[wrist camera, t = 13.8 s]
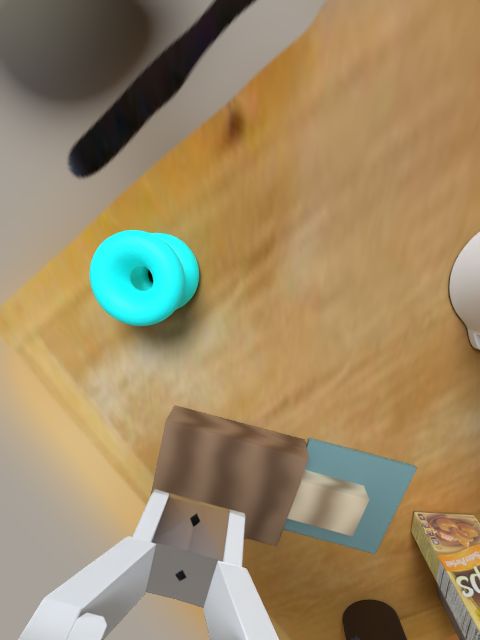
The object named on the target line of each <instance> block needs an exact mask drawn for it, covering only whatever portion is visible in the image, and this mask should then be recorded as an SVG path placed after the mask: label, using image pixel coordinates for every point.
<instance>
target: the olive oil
mask: <svg viewBox="0 0 480 640" xmlns="http://www.w3.org/2000/svg"><path fill="white" fill-rule="evenodd" d="M343 625H344V631H345V636H346V640H407V638H406V636H405V633H404V631H403V628H402V625H401V623H400V620H399V618H398V615H397V613H396V612H395V610H394V609H393V608H392V607H390V606H389V605H387V604H385V603H383V602H380V601H375V600H364V601H359V602H356V603H354V604H352V605H351V606H349V607H348V608H347V609H346V611H345V613H344V615H343Z"/></svg>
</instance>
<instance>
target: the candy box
mask: <svg viewBox="0 0 480 640" xmlns="http://www.w3.org/2000/svg"><path fill="white" fill-rule="evenodd" d="M411 532H412V534H413V536H414V538H415V540H416V542H417V544H418V546H419V548H420V550H421V552H422V554H423V556H424V558H425V560H426V562H427V564H428V566H429V568H430V570H431V572H432V574H433V576H434V578H435V580H436V582H437V584H438V586H439V588H440V590H441V592H442V594H443V596H444V598H445V600H446V602H447V604H448V606H449V608H450V610H451V612H452V614H453V616H454V618H455V620H456V622H457V624H458V626H459V627H460V630H461V632H462V634H463V636H464V638H465V640H480V523H479V521H478V520H477V518H476V517H475V516H474V515H463V514H445V513H425V512H416V511H414V515H413V522H412V528H411Z"/></svg>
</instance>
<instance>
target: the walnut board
mask: <svg viewBox="0 0 480 640" xmlns="http://www.w3.org/2000/svg"><path fill="white" fill-rule="evenodd" d="M308 460H309V457H308V452H307V448H306V443H305V440H304V439H300V438H296V437H292V436H289V435H285V434H281V433H277V432H273V431H270V430H266V429H262V428H258V427H255V426H251V425H247V424H243V423H239V422H236V421H232V420H228V419H224V418H221V417H217V416H213V415H209V414H205V413H202V412H198V411H194V410H190V409H186V408H183V407H179V406H174V407H173V409H172V411H171V413H170V415H169V416H168V418H167V420H166V423H165V428H164V433H163V438H162V443H161V448H160V453H159V458H158V463H157V468H156V472H155V477H154V482H153V487H152V492H151V495H152V493H153V491H154V490H155V489H157V490H160V491H164V492H167V493H171V494H175V495H178V496H181V497H185V498H188V499H191V500H195V501H198V502H203V503H207V504H211V505H215V506H219V507H223V508H227V509H229V510H234V511H238V512H242V513H245V532H244V537H245V538H248V539H252V540H256V541H259V542H263V543H267V544H271V545H274V546H277V544H278V542H279V539H280V536H281V533H282V531H283V528H284V525H285V522H286V520H287V517H288V514H289V512H290V509H291V506H292V503H293V501H294V498H295V495H296V492H297V490H298V487H299V484H300V481H301V479H302V476H303V473H304V471H305V468H306V465H307V462H308Z"/></svg>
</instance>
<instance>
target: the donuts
mask: <svg viewBox="0 0 480 640" xmlns="http://www.w3.org/2000/svg"><path fill="white" fill-rule="evenodd" d="M148 269H149V270H150V272H151V274H152V276H153V283H152V282H151V281H150V279H149V276H148ZM90 283H91V287H92V290H93V293H94V295H95V297H96V299H97V301H98V303H99V304H100V305H101V307H102V308H103V309H104V310H105V311H106V312H107V313H108V314H109V315H111V316H112V317H113V318H115V319H117V320H119V321H121V322H123V323H125V324H129V325H133V326H149V325H153V324H157V323H159V322H161V321H163V320H165V319H166V318H168V317H169V316H170V315H171V314H172V313H173V312H174V311H175V310H176V309H178V308H180V307H182V306H184V305H185V304H186V303H187V302H188V301H189V300H190V299H191V298H192V297H193V295H194V294H195V292H196V289H197V287H198V283H199V267H198V263H197V260H196V258H195V256H194V254H193V252H192V251H191V250H190V248H189V247H188V246H187V245H186V244H185V243H184V242H183V241H181V240H180V239H178V238H176V237H174V236H172V235H169V234H164V233H148V232H145V231H138V230H128V231H122V232H119V233H116V234H114V235H112V236H111V237H109V238H107V239H106V240H105V241H104V242H103V243H102V244H101V245H100V246H99V247H98V249H97V250H96V252H95V254H94V256H93V259H92V262H91V266H90Z"/></svg>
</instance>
